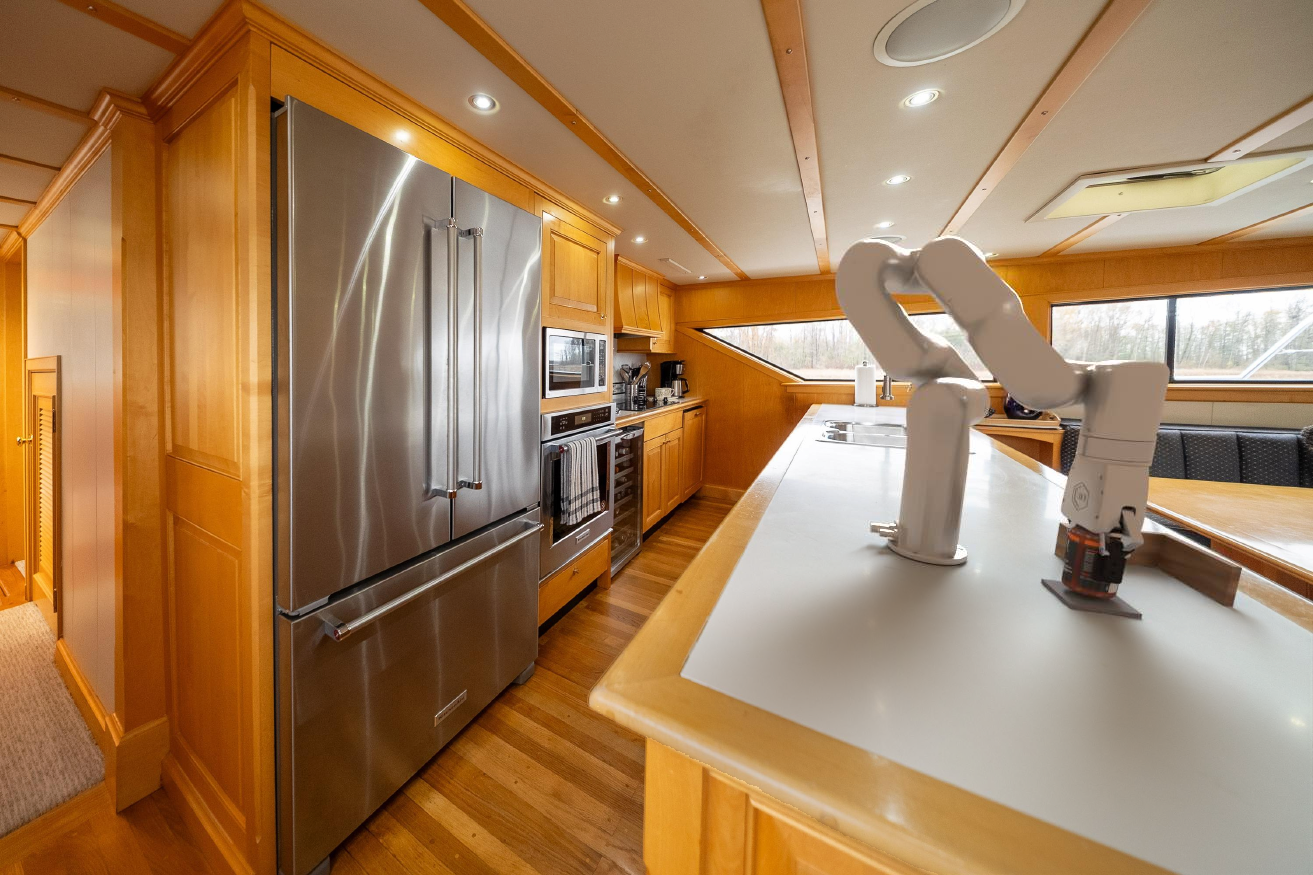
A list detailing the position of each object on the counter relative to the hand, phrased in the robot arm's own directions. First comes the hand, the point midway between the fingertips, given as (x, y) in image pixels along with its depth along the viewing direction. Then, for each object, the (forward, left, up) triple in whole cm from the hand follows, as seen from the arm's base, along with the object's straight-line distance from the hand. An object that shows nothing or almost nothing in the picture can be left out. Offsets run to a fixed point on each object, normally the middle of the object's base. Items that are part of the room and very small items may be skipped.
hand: (1091, 570), depth 65 cm
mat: (0, 0, -4) cm, 4 cm away
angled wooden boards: (+12, +11, -4) cm, 17 cm away
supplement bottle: (0, 0, -3) cm, 3 cm away
